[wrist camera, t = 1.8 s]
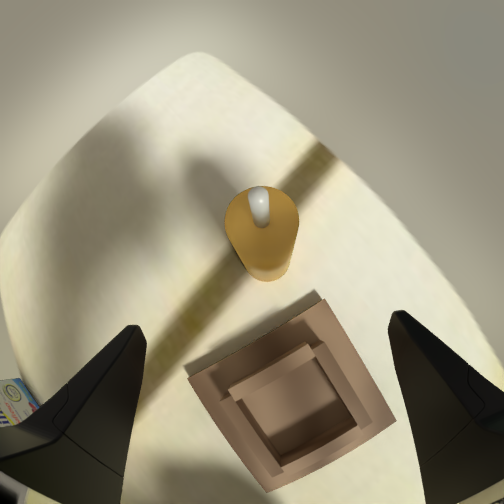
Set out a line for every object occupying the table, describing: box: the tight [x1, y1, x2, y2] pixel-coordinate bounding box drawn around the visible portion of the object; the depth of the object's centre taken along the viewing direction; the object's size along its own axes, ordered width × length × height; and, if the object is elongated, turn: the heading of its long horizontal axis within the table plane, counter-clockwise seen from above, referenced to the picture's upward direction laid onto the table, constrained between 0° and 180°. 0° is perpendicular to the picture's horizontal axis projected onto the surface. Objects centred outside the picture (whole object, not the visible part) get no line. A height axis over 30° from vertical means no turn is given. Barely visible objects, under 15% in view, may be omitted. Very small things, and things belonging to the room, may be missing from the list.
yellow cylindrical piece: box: [225, 186, 299, 282], centre depth 18 cm, size 4×4×12 cm
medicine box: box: [0, 378, 39, 427], centre depth 18 cm, size 8×4×9 cm, turn 49°
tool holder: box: [187, 299, 396, 493], centre depth 20 cm, size 12×12×3 cm
